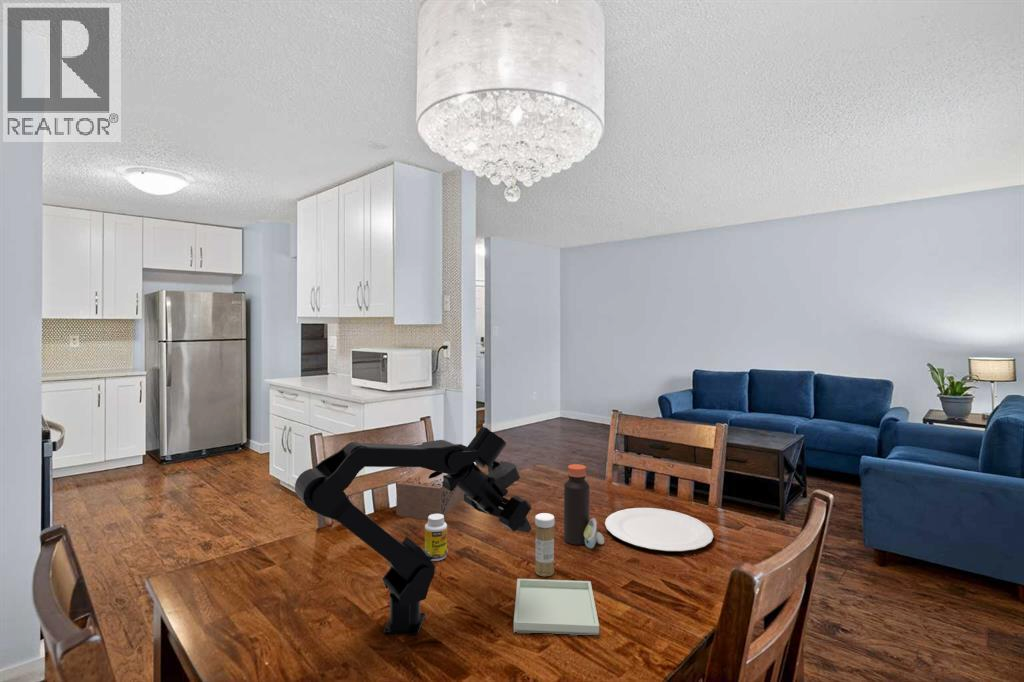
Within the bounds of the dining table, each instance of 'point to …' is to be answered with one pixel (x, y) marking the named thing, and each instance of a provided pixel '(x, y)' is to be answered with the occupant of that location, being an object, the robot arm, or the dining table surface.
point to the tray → (555, 607)
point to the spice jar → (544, 544)
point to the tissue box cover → (425, 495)
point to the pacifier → (592, 534)
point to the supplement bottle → (436, 537)
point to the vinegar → (576, 505)
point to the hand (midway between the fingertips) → (517, 523)
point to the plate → (659, 529)
